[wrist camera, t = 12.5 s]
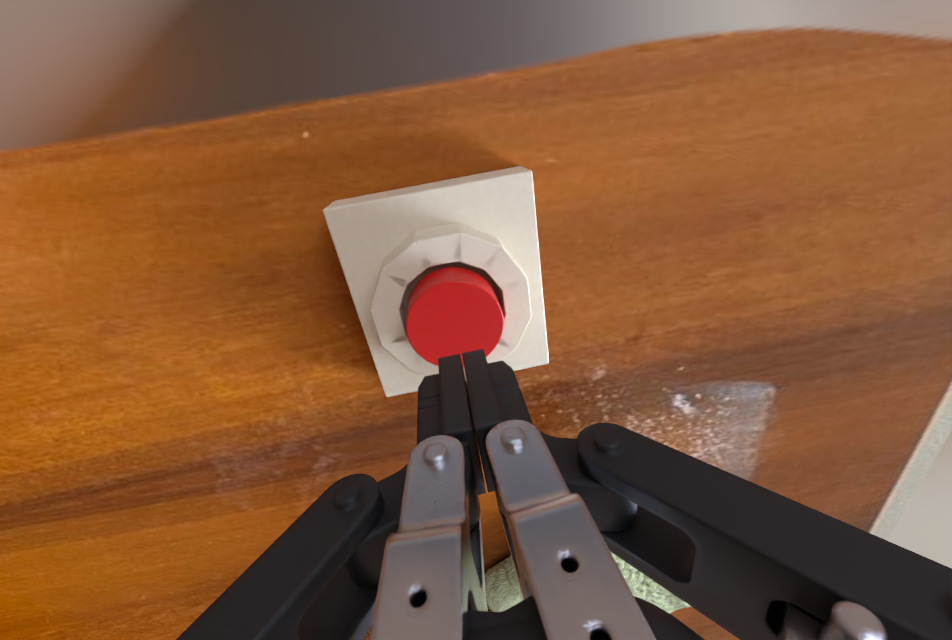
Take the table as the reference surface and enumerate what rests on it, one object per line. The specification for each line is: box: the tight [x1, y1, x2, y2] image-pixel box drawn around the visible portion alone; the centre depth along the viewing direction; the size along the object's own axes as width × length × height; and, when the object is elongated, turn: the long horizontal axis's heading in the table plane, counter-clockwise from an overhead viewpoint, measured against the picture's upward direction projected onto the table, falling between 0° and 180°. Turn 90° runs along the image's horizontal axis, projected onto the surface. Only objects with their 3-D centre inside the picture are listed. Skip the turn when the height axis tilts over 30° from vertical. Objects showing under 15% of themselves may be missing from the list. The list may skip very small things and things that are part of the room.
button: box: [406, 267, 504, 367], centre depth 16 cm, size 4×4×2 cm
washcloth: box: [484, 552, 691, 614], centre depth 32 cm, size 13×18×3 cm
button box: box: [323, 166, 549, 397], centre depth 19 cm, size 10×9×4 cm
